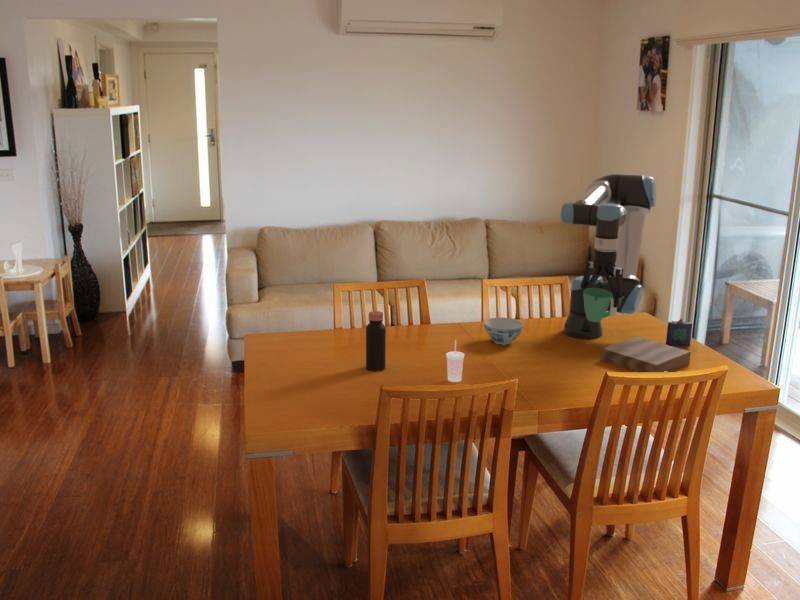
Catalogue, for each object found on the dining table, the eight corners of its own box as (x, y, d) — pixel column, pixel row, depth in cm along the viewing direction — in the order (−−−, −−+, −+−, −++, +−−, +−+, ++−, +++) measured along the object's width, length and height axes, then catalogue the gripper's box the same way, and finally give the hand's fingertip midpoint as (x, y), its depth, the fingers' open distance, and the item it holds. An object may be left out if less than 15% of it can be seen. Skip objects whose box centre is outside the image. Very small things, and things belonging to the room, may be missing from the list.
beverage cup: (462, 383, 252) (464, 343, 249) (444, 382, 254) (445, 342, 250) (464, 376, 258) (465, 337, 255) (446, 375, 259) (447, 336, 256)
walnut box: (600, 361, 276) (602, 348, 275) (635, 349, 290) (637, 336, 288) (654, 378, 260) (656, 365, 258) (689, 364, 273) (690, 351, 272)
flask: (689, 343, 295) (692, 317, 292) (691, 346, 292) (694, 319, 289) (664, 343, 295) (667, 316, 292) (667, 345, 292) (669, 319, 289)
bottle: (383, 364, 269) (384, 309, 264) (386, 371, 263) (387, 315, 258) (364, 365, 268) (364, 310, 263) (367, 372, 262) (367, 316, 257)
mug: (587, 325, 261) (591, 298, 257) (574, 314, 269) (578, 288, 266) (626, 323, 264) (630, 296, 260) (612, 313, 273) (616, 286, 269)
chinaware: (530, 344, 293) (531, 324, 291) (501, 351, 284) (502, 331, 282) (504, 334, 305) (505, 315, 302) (475, 340, 296) (476, 321, 294)
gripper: (572, 245, 266) (568, 307, 272) (626, 256, 249) (620, 322, 255) (586, 243, 271) (581, 303, 277) (640, 253, 254) (634, 317, 260)
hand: (600, 312), depth 266 cm, fingers closed on mug, 10 cm apart
